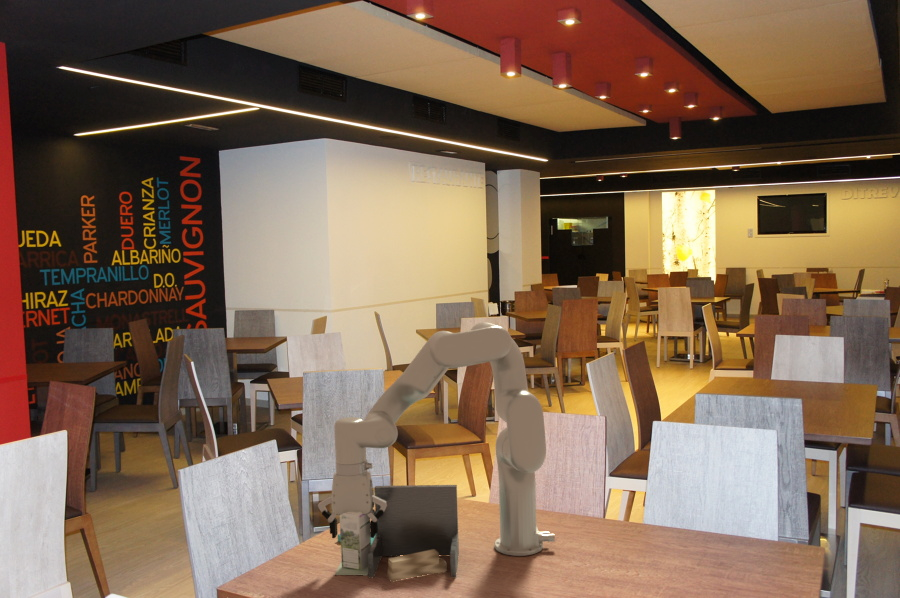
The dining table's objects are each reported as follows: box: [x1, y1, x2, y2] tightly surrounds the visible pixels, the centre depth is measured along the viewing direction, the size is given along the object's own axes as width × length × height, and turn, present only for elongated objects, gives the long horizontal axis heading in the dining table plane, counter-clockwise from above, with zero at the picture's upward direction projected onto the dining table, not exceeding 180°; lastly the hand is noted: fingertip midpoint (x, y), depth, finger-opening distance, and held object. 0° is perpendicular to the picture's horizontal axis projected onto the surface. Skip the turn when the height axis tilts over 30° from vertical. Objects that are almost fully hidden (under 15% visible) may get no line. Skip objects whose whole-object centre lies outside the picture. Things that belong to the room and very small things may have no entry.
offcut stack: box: [387, 549, 448, 583], centre depth 181 cm, size 14×3×5 cm, turn 111°
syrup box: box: [338, 511, 371, 570], centre depth 186 cm, size 6×6×14 cm
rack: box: [368, 484, 460, 579], centre depth 186 cm, size 21×14×18 cm
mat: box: [334, 560, 369, 576], centre depth 186 cm, size 8×10×1 cm
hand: (354, 536), depth 186 cm, fingers open, 9 cm apart
